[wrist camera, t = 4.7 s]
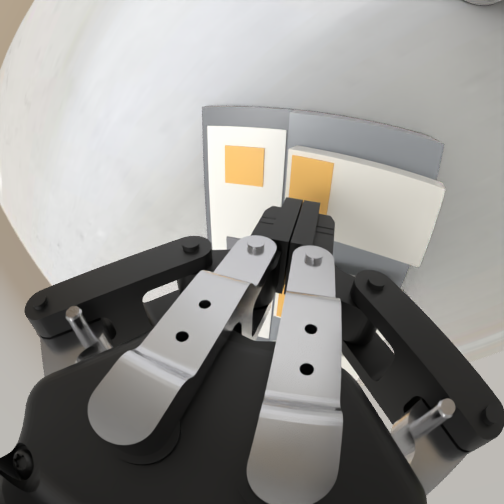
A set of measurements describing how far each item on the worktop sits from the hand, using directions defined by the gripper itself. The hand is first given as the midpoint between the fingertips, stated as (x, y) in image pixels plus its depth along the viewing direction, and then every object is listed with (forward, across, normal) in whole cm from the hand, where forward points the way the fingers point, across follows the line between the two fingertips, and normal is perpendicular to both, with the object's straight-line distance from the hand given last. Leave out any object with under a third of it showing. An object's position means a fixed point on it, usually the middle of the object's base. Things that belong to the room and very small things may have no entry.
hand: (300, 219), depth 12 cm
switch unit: (+10, 0, +9) cm, 13 cm away
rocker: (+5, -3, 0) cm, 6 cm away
